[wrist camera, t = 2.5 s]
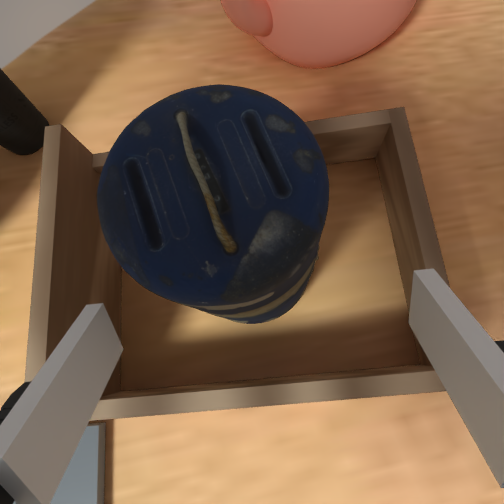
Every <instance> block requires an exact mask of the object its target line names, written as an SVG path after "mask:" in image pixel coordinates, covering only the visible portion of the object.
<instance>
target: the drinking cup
mask: <svg viewBox="0 0 504 504" xmlns="http://www.w3.org/2000/svg"><path fill="white" fill-rule="evenodd" d="M46 126H49V123H48V121H47V120H46V118H45V117H44V116H43V115H42V114H41V113H40V112H39V111H38V110H37V109H36V107H35V106H34V105H33V104H32V103H31V102H30V101H29V100H28V99H27V97H26V96H25V95H24V94H23V93H22V92H21V91H20V90H19V89H18V88H17V86H16V85H15V84H14V83H13V82H12V81H11V80H10V79H9V78H8V76H7V75H6V74H5V73H4V72H3V71H2V70H1V69H0V145H1V146H2V147H4V148H6V149H8V150H10V151H11V152H13V153H15V154H18V155H28V154H31V153H34V152H36V151H37V150H39V149H40V148H41V147H42V146H43V145H44V133H45V127H46Z"/></svg>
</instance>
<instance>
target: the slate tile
mask: <svg viewBox="0 0 504 504" xmlns="http://www.w3.org/2000/svg"><path fill="white" fill-rule="evenodd" d="M105 427H106V422H104V423H92V424H88V425H87V427H86V429H85V431H84V433H83V435H82V437H81V439H80V441H79V444H78V446H77V448H76V450H75V452H74V454H73V456H72V458H71V460H70V462H69V465H68V467H67V469H66V471H65V473H64V475H63V477H62V479H61V481H60V483H59V485H58V488H57V490H56V492H55V494H54V496H53V498H52V500H51V502H50V504H104V478H105ZM13 504H17V503H16V502H15V501H14V503H13Z"/></svg>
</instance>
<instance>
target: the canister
mask: <svg viewBox="0 0 504 504" xmlns="http://www.w3.org/2000/svg"><path fill="white" fill-rule="evenodd" d="M328 202H329V179H328V172H327V167H326V163H325V160H324V156H323V154H322V151H321V149H320V146H319V144H318V142H317V141H316V139H315V137H314V135H313V133H312V132H311V130H310V129H309V128H308V126H307V125H306V124H305V123H304V122H303V121H302V119H301V118H300V117H299V116H298V115H297V114H295V113H294V112H293V111H292V110H291V109H289V108H288V107H287V106H285V105H284V104H282V103H281V102H279V101H278V100H276V99H274V98H272V97H270V96H268V95H266V94H264V93H261V92H259V91H255V90H252V89H248V88H244V87H238V86H231V85H209V86H201V87H196V88H191V89H187V90H184V91H181V92H178V93H175V94H173V95H170V96H168V97H166V98H164V99H162V100H161V101H159V102H157V103H155V104H154V105H152V106H150V107H149V108H147V109H146V110H144V111H143V112H142V113H141V114H140V115H139V116H138V117H137V118H135V119H134V120H133V121H132V122H131V123H130V124H129V125H127V127H126V128H125V129H124V130H123V131H122V133H121V134H120V135H119V137H118V138H117V140H116V142H115V143H114V145H113V146H112V148H111V150H110V152H109V154H108V156H107V158H106V161H105V164H104V166H103V169H102V172H101V176H100V180H99V184H98V189H97V206H98V214H99V220H100V224H101V228H102V232H103V235H104V237H105V240H106V242H107V244H108V246H109V248H110V250H111V252H112V254H113V256H114V257H115V259H116V260H117V262H118V263H119V264H120V265H121V267H122V268H123V269H124V270H125V271H126V272H127V273H128V274H129V275H130V276H131V277H132V278H133V279H135V280H136V281H137V282H138V283H139V284H141V285H142V286H143V287H145V288H146V289H148V290H149V291H151V292H153V293H155V294H157V295H159V296H161V297H164V298H166V299H169V300H171V301H174V302H177V303H180V304H183V305H186V306H189V307H193V308H196V309H199V310H201V311H204V312H207V313H209V314H212V315H215V316H219V317H223V318H226V319H229V320H232V321H235V322H239V323H246V324H256V323H263V322H268V321H271V320H274V319H276V318H278V317H280V316H282V315H283V314H285V313H286V312H287V311H289V310H290V309H291V308H292V307H293V306H294V305H295V304H296V303H297V302H298V301H299V299H300V298H301V297H302V295H303V293H304V291H305V289H306V286H307V283H308V281H309V278H310V276H311V274H312V272H313V270H314V265H315V261H316V260H318V250H319V241H320V237H321V233H322V230H323V227H324V224H325V220H326V215H327V210H328Z"/></svg>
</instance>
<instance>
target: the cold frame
mask: <svg viewBox="0 0 504 504" xmlns="http://www.w3.org/2000/svg"><path fill="white" fill-rule="evenodd" d="M304 123H305V124H306V125H307V126H308V128H309V129H310V130H311V132H312V133H313V135H314V137H315V139H316V141H317V142H318V144H319V146H320V149H321V151H322V154H323V156H324V160H325V163H326V165H328V164H335V163H342V162H349V161H356V160H363V159H370V158H376V163H377V168H378V172H379V177H380V181H381V186H382V191H383V195H384V200H385V205H386V209H387V214H388V218H389V223H390V228H391V232H392V237H393V241H394V246H395V251H396V255H397V260H398V265H399V269H400V274H401V278H402V283H403V288H404V292H405V297H406V302H407V306H408V311H409V312H410V302H411V292H412V283H413V273H414V270H423V269H433V268H434V270H435V271H436V272H437V273H438V274H439V276H440V277H441V278H442V279H443V280H444V282H445V283H446V284H447V285H448V286H449V282H448V278H447V274H446V270H445V266H444V262H443V258H442V255H441V251H440V247H439V243H438V239H437V235H436V231H435V227H434V223H433V219H432V215H431V211H430V207H429V203H428V199H427V195H426V191H425V187H424V184H423V180H422V176H421V172H420V168H419V164H418V160H417V156H416V152H415V148H414V144H413V140H412V136H411V132H410V128H409V124H408V120H407V116H406V113H405V109H404V107H400V108H394V109H387V110H380V111H374V112H367V113H361V114H354V115H348V116H341V117H334V118H328V119H321V120H315V121H308V122H304ZM108 154H109V152H105V153H98V154H92V153H91V152H90V151H89V150H88V149H87V148H86V147H85V146H84V145H83V144H81V143H80V142H79V141H78V140H77V139H76V138H75V137H74V136H73V135H72V134H71V133H70V132H69V131H68V130H67V129H66V128H65V127H64V126H63V125H61V124H58V125H52V126H46V127H45V133H44V146H43V158H42V171H41V183H40V196H39V208H38V221H37V233H36V246H35V258H34V270H33V283H32V295H31V308H30V320H29V333H28V345H27V358H26V370H25V382H30V381H32V380H33V379H34V377H35V376H36V375H37V373H38V372H39V370H40V369H41V368H42V366H43V365H44V363H45V362H46V361H47V359H48V358H49V356H50V355H51V354H52V352H53V351H54V349H55V348H56V347H57V345H58V344H59V342H60V341H61V340H62V338H63V337H64V335H65V334H66V333H67V331H68V330H69V328H70V327H71V326H72V324H73V323H74V322H75V320H76V319H77V317H78V316H79V315H80V313H81V312H82V310H83V309H84V308H85V306H86V305H90V304H99V303H103V304H104V306H105V309H106V311H107V313H108V315H109V318H110V320H111V322H112V324H113V326H114V329H115V331H116V333H117V335H118V338H119V340H120V342H121V265H120V264H119V263H118V262H117V260H116V259H115V257H114V256H113V254H112V252H111V250H110V248H109V246H108V244H107V242H106V240H105V237H104V235H103V232H102V228H101V224H100V220H99V214H98V206H97V189H98V184H99V180H100V176H101V172H102V169H103V166H104V164H105V161H106V158H107V156H108ZM449 288H450V286H449ZM413 334H414V332H413ZM414 338H415V343H416V348H417V352H418V357H419V362H420V365H409V366H398V367H387V368H376V369H365V370H354V371H343V372H332V373H321V374H309V375H298V376H287V377H276V378H265V379H254V380H243V381H232V382H221V383H210V384H198V385H187V386H176V387H165V388H154V389H143V390H132V391H121V392H120V365H121V355H120V358H119V360H118V362H117V364H116V366H115V368H114V370H113V372H112V374H111V376H110V379H109V381H108V383H107V385H106V387H105V389H104V391H103V393H102V395H101V397H100V400H99V402H98V404H97V406H96V408H95V410H94V412H93V414H92V416H91V418H90V420H89V421H93V420H105V419H117V418H129V417H141V416H153V415H165V414H177V413H189V412H201V411H213V410H225V409H237V408H249V407H261V406H273V405H285V404H297V403H309V402H321V401H333V400H345V399H357V398H370V397H382V396H394V395H406V394H418V393H430V392H442V391H446V389H445V387H444V386H443V384H442V382H441V380H440V378H439V377H438V375H437V373H436V371H435V370H434V368H433V366H432V364H431V362H430V361H429V359H428V357H427V355H426V354H425V352H424V350H423V348H422V346H421V345H420V343H419V341H418V339H417V338H416V336H415V334H414Z"/></svg>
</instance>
